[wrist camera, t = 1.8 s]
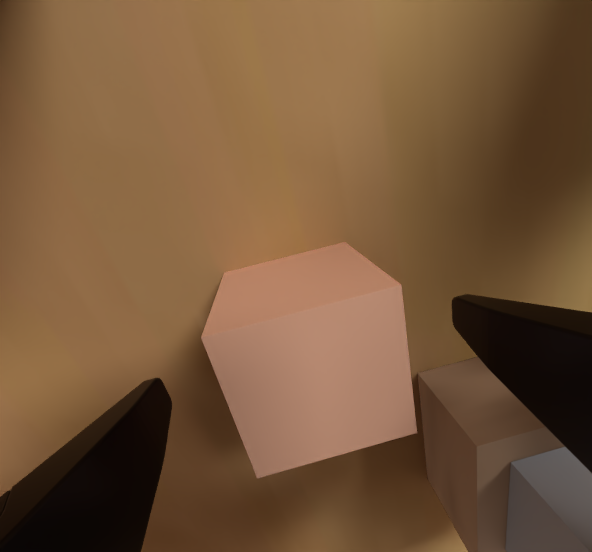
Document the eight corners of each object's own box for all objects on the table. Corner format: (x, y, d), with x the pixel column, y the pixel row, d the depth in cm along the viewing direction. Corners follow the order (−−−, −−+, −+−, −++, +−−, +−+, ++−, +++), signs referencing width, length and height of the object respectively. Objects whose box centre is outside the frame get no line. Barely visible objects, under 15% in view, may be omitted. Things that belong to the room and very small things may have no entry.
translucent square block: (558, 330, 13) (674, 390, 10) (546, 439, 16) (636, 521, 12) (414, 369, 13) (476, 446, 9) (424, 473, 16) (477, 568, 12)
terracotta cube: (344, 241, 11) (401, 284, 6) (361, 343, 12) (417, 432, 8) (224, 271, 10) (201, 337, 6) (257, 371, 12) (257, 478, 8)
